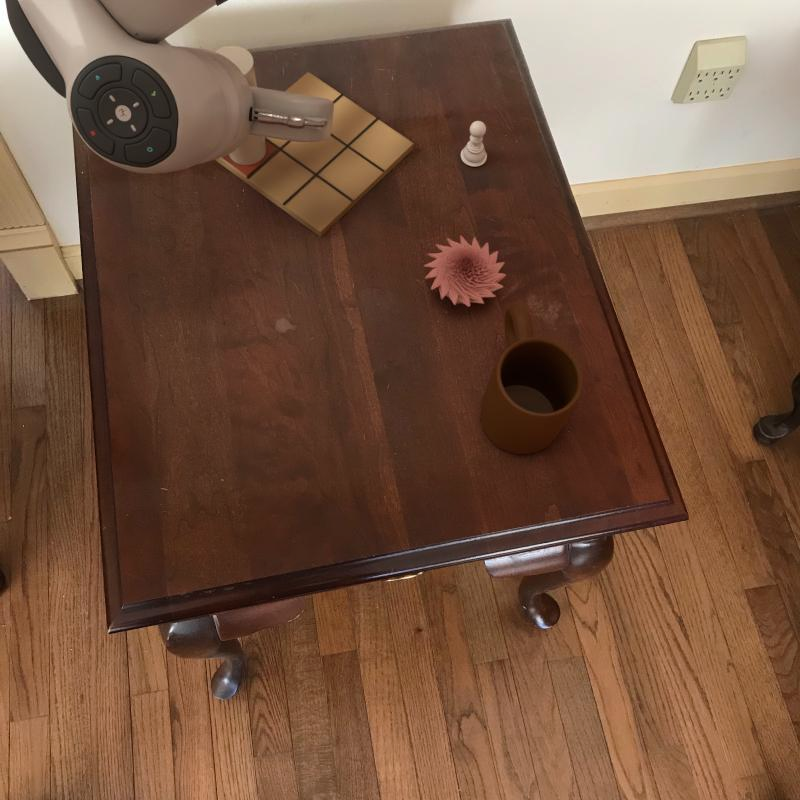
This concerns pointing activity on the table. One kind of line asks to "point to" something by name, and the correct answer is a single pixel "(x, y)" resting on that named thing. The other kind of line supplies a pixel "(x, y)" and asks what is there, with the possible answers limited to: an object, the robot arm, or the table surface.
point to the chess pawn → (475, 146)
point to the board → (325, 162)
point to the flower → (465, 272)
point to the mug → (529, 388)
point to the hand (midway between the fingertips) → (240, 101)
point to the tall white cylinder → (242, 58)
